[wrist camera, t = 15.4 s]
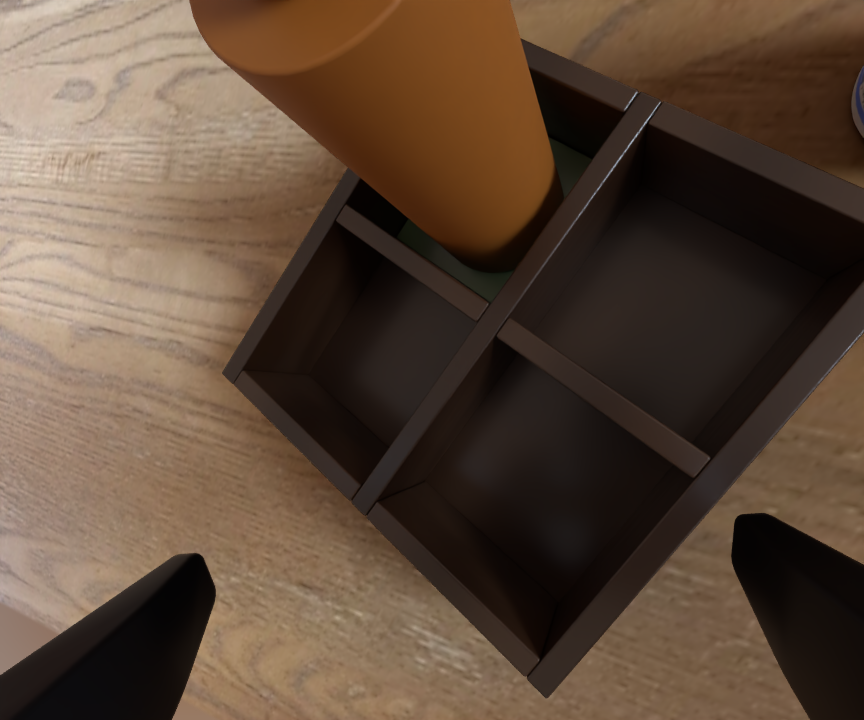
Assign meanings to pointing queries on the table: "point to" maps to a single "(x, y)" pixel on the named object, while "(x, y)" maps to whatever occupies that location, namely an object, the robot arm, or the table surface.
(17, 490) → the table surface
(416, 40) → the amber bottle
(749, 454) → the rack
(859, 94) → the pill bottle
